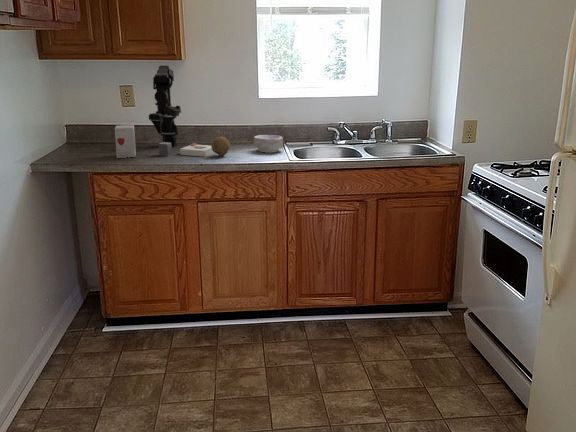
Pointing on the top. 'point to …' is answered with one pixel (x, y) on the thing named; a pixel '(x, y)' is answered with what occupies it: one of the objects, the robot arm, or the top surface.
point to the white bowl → (268, 143)
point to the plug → (165, 149)
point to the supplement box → (125, 141)
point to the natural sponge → (220, 146)
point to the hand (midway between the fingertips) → (164, 132)
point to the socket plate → (196, 150)
